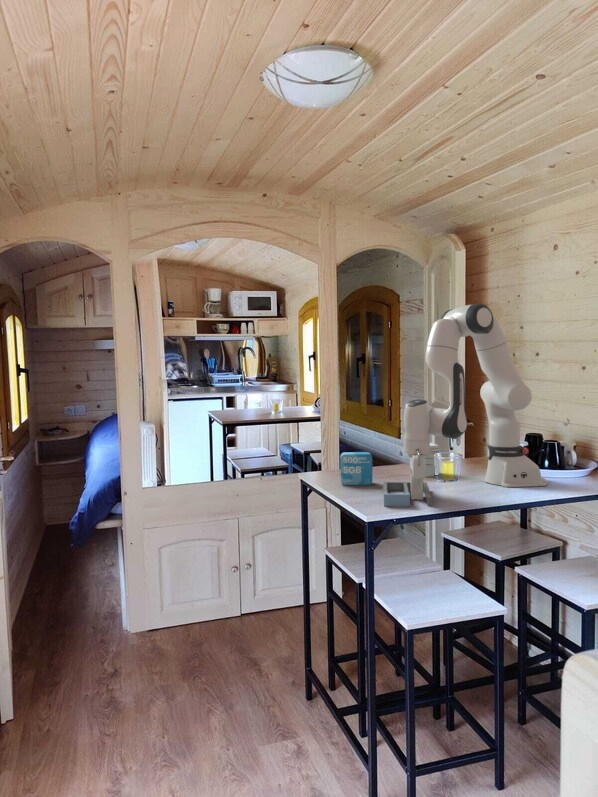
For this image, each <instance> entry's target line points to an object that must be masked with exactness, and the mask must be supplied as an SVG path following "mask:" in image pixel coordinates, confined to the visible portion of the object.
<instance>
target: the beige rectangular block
mask: <svg viewBox="0 0 598 797" xmlns="http://www.w3.org/2000/svg"><path fill="white" fill-rule="evenodd" d="M410 482H411V491H410V500H411V499H412V501H413V500H414V499H417V500H419V501H421V500H422V501H423V500H424V491H423V482H424V479H421V482H420V489H415V480H414V479H413V475H412V470H411V469H410Z"/></svg>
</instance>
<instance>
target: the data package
mask: <svg viewBox="0 0 598 797" xmlns="http://www.w3.org/2000/svg"><path fill="white" fill-rule="evenodd" d="M339 458H340V461H339V462H340V483H341V484H342V485H343V486H370V485H372V484H373V456H372V454H371V452H369V451H353V452H349V451H348V452H347V451H346V452H345V451H344V452H342V453H340V457H339Z"/></svg>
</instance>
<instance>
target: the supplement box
mask: <svg viewBox="0 0 598 797" xmlns="http://www.w3.org/2000/svg"><path fill="white" fill-rule="evenodd" d="M435 453H439V454H440V445H439V444H436V443H433V442H430V452H429V453H427V454H426V457H425V458H424V478H431V477H435V476H434V475H435V466H434V454H435Z"/></svg>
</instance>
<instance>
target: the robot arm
mask: <svg viewBox="0 0 598 797" xmlns="http://www.w3.org/2000/svg"><path fill="white" fill-rule="evenodd" d="M469 336H470V337H471V338H472V340H473V344H474V348H475V351H476V356H477V359H478V362H479V365H480V369H481V371H482V372H483V374H485V375H486V377H487V378H488V381H485V382H484V383H483V384H482V385H481V388H480V390H479V391H480V392H479V393H480V398H481V400H482V401H483V403H484V406H485V412H486V416H487V421H488V444H487V450H486V451H487V455H486V456H487V460H488V461H487V468H486V472H485V477H484V479H483V480H484V482H486V483H488V484H490V485H491V484H492V485H496V486H501V487H506V488H515V487H516V488H523V487H544V486H545V487H546V486H548V480H547V479H546V478H544V477H543V476H542V474H541V470H540V467H539V465H538V464H536V463H535V462H534V461H533V460H532V459H530V458H529V457H527V454H528V453H529V449H528V448H527V447H524V446H522V445H521V444H520V442H521V441H520V439H521V436H520V435H521V427H520V423H519V421H518V420H517V417H516V413H515V411H521V410H524V409H526V408H527V407H528V406H529V405H530V404H531V401H532V395H533V394H532V391H531V389H530V388H529V387H528V386H527V385H526V384H525V382H524V381H523V379H522V378H521V376H520V374H519V372H518V371H517V369H516V368H515V365H514V363H513V361H512V358H511V354H510V352H509V348H508V345H507V340H506V338H505V335H504V332H503V330H502V328H501V326H500V324H499V322H498V320H497V319H496V318H495V317H494V315H493V312H492V311H491V309H490V308H489V307H488V306H487V305H486V304H483V303H473V304H467V305H461V306H459V307H456V308H452V309H448V310H446V311H445V312H443V314H441V316H440V317H439V319H437V320H435V321H434V322H433V324H432V326H431V329H430V333H429V336H428V339H427V344H426V351H425V364H426V365H427V367H428V368H429V370H431V371H432V372H433V373H434V374H436V375H438V376H440V377H442V378H444V379H445V380H446V381H447V383H448V385H449V407H448V408H439V407H433V406H431V405H430V404H429V402H428V401H427V400H426V399H413V400H409V401H408V402H406V404H405V406H404V412H403V429H404V434H403V453H404V454H407V457H408V460H409V461H408V462H409V467H410V471H411V470H412V475H413V479H414V480H415V489H420V482H421V479H423V480H424V478H425V477H424V458H425V457H426V454H427V453H429V452H430V443H431V441H430V440H431V439H430V438H431V437H430V435H431V436H437V437H444V438H447V439H451V440H452V439H453V440H457V439H458V438H460V437H461V436H462V435H464V433H466V431H467V428H468V419H467V413H466V412H467V410H466V379H465V377H466V376H465V370H464V367H463V365H461V364H460V362H459V357H458V356H459V348H460V347H459V345H460V339H461V338H462V337H463V338H465V337H469Z"/></svg>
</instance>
